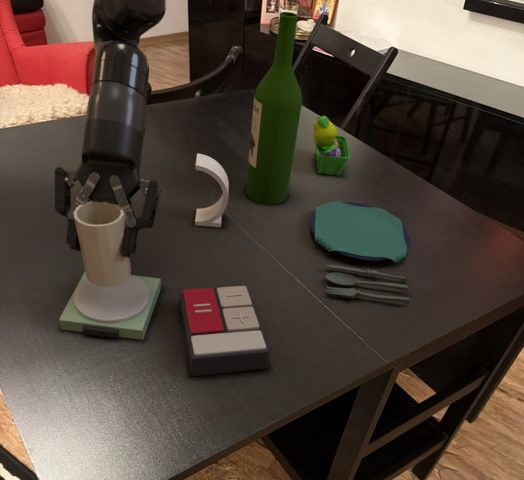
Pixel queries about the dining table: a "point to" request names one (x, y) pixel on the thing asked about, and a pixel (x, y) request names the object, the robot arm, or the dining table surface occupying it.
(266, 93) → the wine bottle
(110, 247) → the cream cup
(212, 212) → the headphone stand
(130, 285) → the scale
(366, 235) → the cutlery set
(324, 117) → the fruit basket
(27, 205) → the dining table surface
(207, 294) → the calculator
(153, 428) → the dining table surface
